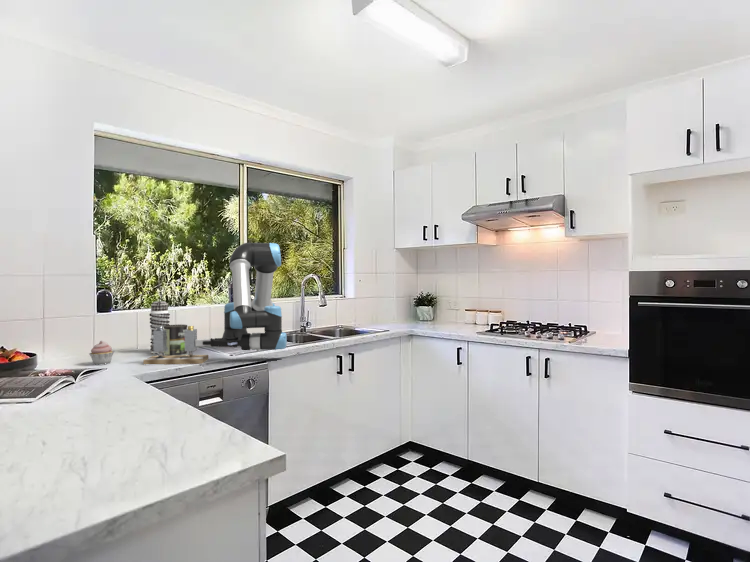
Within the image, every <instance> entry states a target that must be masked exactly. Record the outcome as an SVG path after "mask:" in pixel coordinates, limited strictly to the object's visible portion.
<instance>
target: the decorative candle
mask: <svg viewBox="0 0 750 562" xmlns="http://www.w3.org/2000/svg"><path fill="white" fill-rule="evenodd" d="M170 315H171V314H170V313H169V303H167V302H166V301H164V300H162V301H161V300H160V301H157V300H156V301H152V303H151V304H150V313H149V314H148V316H149V324H150V325H149V327H150V330H151V332H150V339H149V340H150V341H149V342H150V345H149V346H150V349H149V350H150V354H152V353H158V352H154V347H153V331H155V330H157V327H158V326H163V330H164V326H166V325H170V321H169V320H170V318H171V317H170ZM162 354H164V351H163V352H162Z"/></svg>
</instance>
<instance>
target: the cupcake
mask: <svg viewBox="0 0 750 562" xmlns="http://www.w3.org/2000/svg"><path fill="white" fill-rule="evenodd" d="M114 353H115V351H113V349H112V346H111V345H109V344H108V342H106V341H103V340H100V341H99V343H97V344H95V345H94V346H93V347H92V348H91V350H90V352H89V353H88V354H89V356H90V358H91V360H92V363H93V365H94V364H104V365H106V364H105V363H109V364H111V361H112V358H113V356H114Z"/></svg>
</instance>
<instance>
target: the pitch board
mask: <svg viewBox="0 0 750 562" xmlns="http://www.w3.org/2000/svg"><path fill="white" fill-rule="evenodd" d="M208 360H209V355H208V354H193V356H191V357H190V356H189V354H187V355H175V356H164V355H162V358H158V355H152V356H150V357H147V358H144V359H143V363H142V364H164V365H196V364H197V365H198V364H199V365H201V364H204V363H205V362H206V361H208Z"/></svg>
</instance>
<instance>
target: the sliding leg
mask: <svg viewBox="0 0 750 562" xmlns="http://www.w3.org/2000/svg"><path fill="white" fill-rule="evenodd" d="M194 327H195V326H194V325H187V330H185V351H187V352H189V353H188V355H189V356H190V357H191V356H193V355H194V354H193V352H195V351H197V350H198V346H195V340H196V339H198V329H197V328H194Z"/></svg>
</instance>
